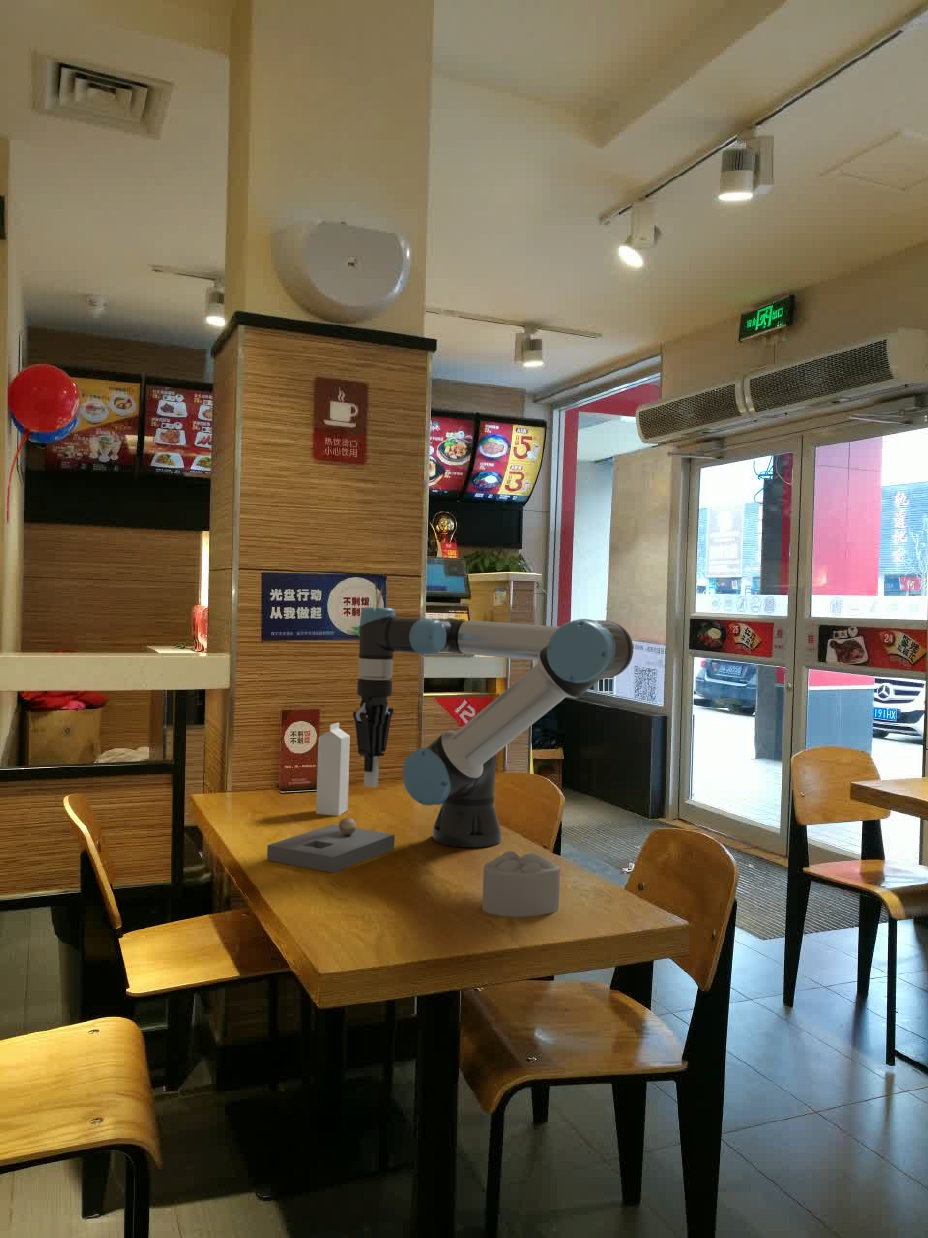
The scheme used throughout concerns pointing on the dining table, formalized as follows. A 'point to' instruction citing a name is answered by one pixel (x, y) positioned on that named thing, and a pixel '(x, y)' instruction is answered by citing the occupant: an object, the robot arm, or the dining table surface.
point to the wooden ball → (347, 826)
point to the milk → (333, 772)
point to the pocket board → (330, 848)
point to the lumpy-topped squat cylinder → (520, 885)
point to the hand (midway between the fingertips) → (370, 786)
